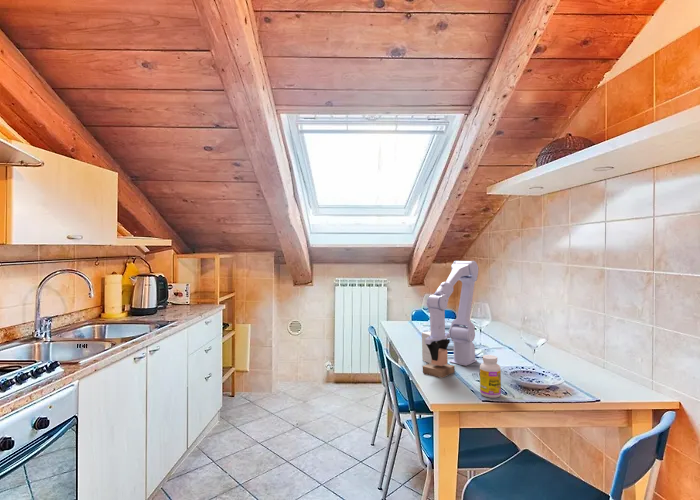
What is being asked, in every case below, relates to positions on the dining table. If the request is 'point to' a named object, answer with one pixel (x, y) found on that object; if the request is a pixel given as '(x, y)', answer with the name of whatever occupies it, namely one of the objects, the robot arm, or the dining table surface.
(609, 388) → the dining table surface
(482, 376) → the supplement bottle
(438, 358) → the terracotta block
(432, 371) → the walnut box
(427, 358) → the supplement box
